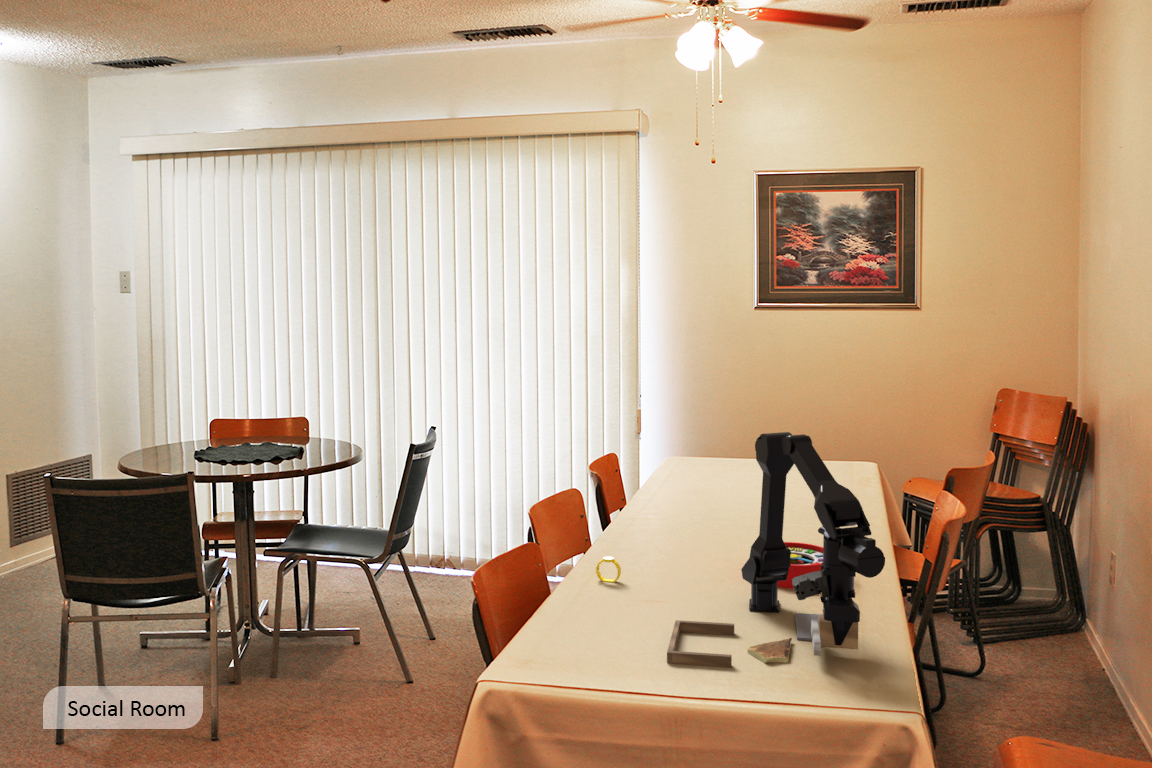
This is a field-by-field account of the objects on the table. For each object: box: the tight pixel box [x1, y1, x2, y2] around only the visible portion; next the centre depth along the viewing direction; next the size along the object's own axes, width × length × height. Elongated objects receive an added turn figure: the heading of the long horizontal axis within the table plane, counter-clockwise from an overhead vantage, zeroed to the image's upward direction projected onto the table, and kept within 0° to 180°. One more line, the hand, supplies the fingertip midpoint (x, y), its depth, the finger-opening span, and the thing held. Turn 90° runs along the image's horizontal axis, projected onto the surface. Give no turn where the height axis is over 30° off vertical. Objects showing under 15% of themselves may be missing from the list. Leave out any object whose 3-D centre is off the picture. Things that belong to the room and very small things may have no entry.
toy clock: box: [778, 541, 823, 590], centre depth 220 cm, size 20×6×20 cm
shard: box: [746, 637, 793, 664], centre depth 173 cm, size 11×8×2 cm
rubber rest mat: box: [794, 612, 823, 642], centre depth 186 cm, size 14×11×1 cm
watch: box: [595, 555, 622, 583], centre depth 218 cm, size 6×3×6 cm, turn 69°
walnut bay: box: [666, 619, 735, 668], centre depth 177 cm, size 17×12×2 cm
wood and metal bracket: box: [811, 615, 859, 657], centre depth 172 cm, size 12×8×5 cm
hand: (837, 641), depth 172 cm, fingers closed on wood and metal bracket, 3 cm apart
